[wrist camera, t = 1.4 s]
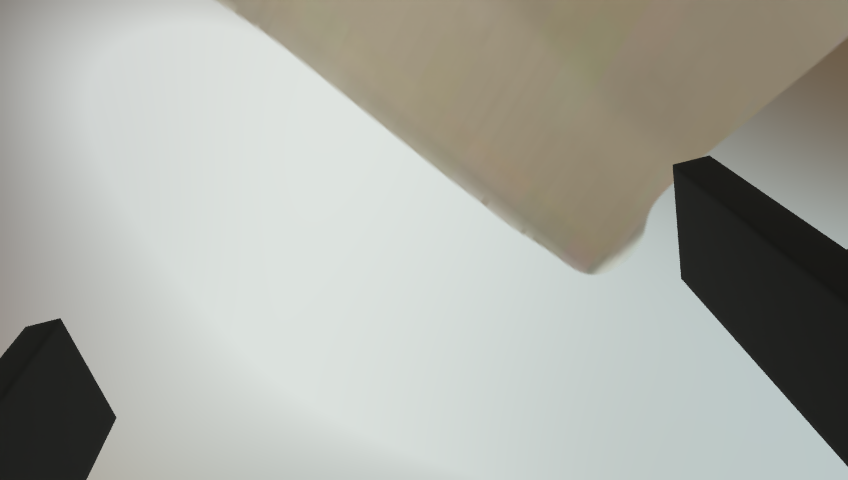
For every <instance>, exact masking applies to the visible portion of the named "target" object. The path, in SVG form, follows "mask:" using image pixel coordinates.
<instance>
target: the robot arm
mask: <svg viewBox="0 0 848 480" xmlns="http://www.w3.org/2000/svg"><path fill="white" fill-rule="evenodd" d="M673 175H674V188H675V201H676V215H677V228H678V242H679V255H680V268H681V279H682V280H683V281H684V282H685V283H686V284H687V285H688V286H689V288H690V289H691V290H692V291H693V292H694V293H695V295H696V296H697V297H698V298H699V299H700V300H701V301H702V302H703V303H704V305H705V306H706V307H707V308H708V309H709V310H710V311H711V312H712V314H713V315H714V316H715V317H716V318H717V319H718V320H719V322H720V323H721V324H722V325H723V326H724V327H725V328H726V329H727V330H728V332H729V333H730V334H731V335H732V336H733V337H734V339H735V340H736V341H737V342H738V343H739V344H740V345H741V346H742V348H743V349H744V350H745V351H746V352H747V353H748V354H749V355H750V356H751V358H752V359H753V360H754V361H755V362H756V363H757V364H758V366H759V367H760V368H761V369H762V370H763V371H764V372H765V373H766V375H767V376H768V377H769V378H770V379H771V380H772V381H773V383H774V384H775V385H776V386H777V387H778V388H779V389H780V390H781V392H782V393H783V394H784V395H785V396H786V397H787V398H788V400H790V402H791V403H792V404H793V405H794V406H795V407H796V409H797V410H798V411H799V412H800V413H801V414H802V415H803V416H804V418H805V419H806V420H807V421H808V422H809V423H810V424H811V425H812V427H813V428H814V429H815V430H816V431H817V432H818V433H819V435H820V436H821V437H822V438H823V439H824V440H825V441H826V442H827V444H828V445H829V446H830V447H831V448H832V449H833V450H834V451H835V453H836V454H837V455H838V456H839V457H840V458H841V459H842V460H843V461H844V463H845V464H846V465H847V466H848V249H847V250H846V249H845V248H843V247H842V246H840V245H839V244H837V243H836V242H834V241H833V240H831V239H830V238H828V237H827V236H826V235H824V234H823V233H821V232H820V231H818V230H817V229H815V228H814V227H812V226H811V225H810V224H808V223H807V222H805V221H804V220H802V219H801V218H799V217H798V216H797V215H795V214H794V213H792V212H790V211H789V210H788V209H786V208H785V207H783V206H782V205H780V204H779V203H778V202H776V201H775V200H773V199H771V198H770V197H769V196H767V195H766V194H764V193H763V192H761V191H760V190H759V189H757V188H756V187H754V186H753V185H751V184H750V183H748V182H747V181H746V180H744V179H743V178H741V177H740V176H738V175H737V174H735V173H734V172H732V171H731V170H729V169H728V168H727V167H725V166H724V165H722V164H721V163H719V162H718V161H716V160H715V159H713V158H712V157H711V156H706V157H702V158H698V159H694V160H690V161H686V162H682V163H678V164H674V165H673ZM115 419H116V416H115V414H114V413H113V411H112V409H111V407H110V406H109V404H108V402H107V400H106V398H105V397H104V395H103V393H102V391H101V389H100V388H99V386H98V384H97V383H96V381H95V379H94V377H93V375H92V373H91V372H90V370H89V368H88V366H87V365H86V363H85V361H84V359H83V358H82V356H81V354H80V352H79V350H78V349H77V347H76V345H75V343H74V342H73V340H72V338H71V336H70V334H69V333H68V331H67V329H66V327H65V326H64V324H63V322H62V320H61V319H56V320H52V321H48V322H44V323H40V324H36V325H32V326H28V327H25V328H24V330H23V331H22V332H21V333H20V335H19V336H18V337H17V338H16V339H15V341H14V342H13V343H12V344H11V346H10V347H9V348H8V349H7V351H6V352H5V353H4V354H3V355H2V357H1V358H0V480H86V479H87V477H88V475H89V473H90V471H91V469H92V467H93V465H94V463H95V461H96V459H97V457H98V455H99V453H100V450H101V448H102V446H103V444H104V442H105V440H106V438H107V436H108V434H109V432H110V430H111V428H112V426H113V423H114V422H115Z"/></svg>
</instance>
